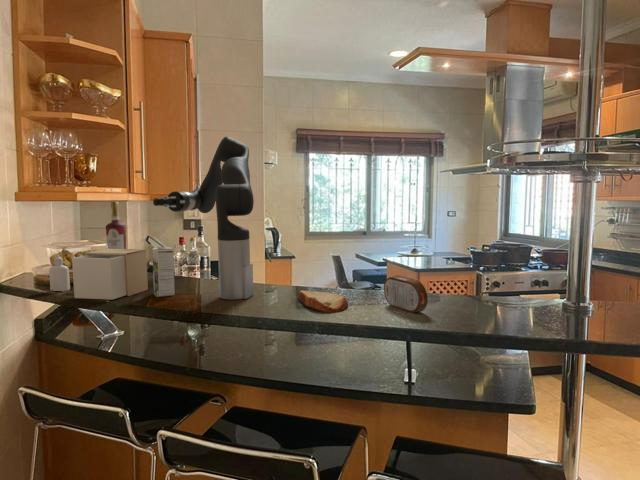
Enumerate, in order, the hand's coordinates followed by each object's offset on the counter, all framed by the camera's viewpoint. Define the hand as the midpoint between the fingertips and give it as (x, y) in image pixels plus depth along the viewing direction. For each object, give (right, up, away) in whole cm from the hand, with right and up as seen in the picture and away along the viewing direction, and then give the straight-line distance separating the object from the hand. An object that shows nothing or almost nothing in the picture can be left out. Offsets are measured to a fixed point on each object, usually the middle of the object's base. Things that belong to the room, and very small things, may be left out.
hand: (155, 202), depth 165 cm
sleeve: (-7, -29, -13) cm, 33 cm away
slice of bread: (+57, -31, -32) cm, 72 cm away
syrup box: (+9, -30, -18) cm, 36 cm away
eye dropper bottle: (-27, -30, -10) cm, 42 cm away
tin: (+79, -31, -40) cm, 93 cm away
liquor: (-22, -26, +22) cm, 40 cm away
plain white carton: (-8, -29, -16) cm, 34 cm away
